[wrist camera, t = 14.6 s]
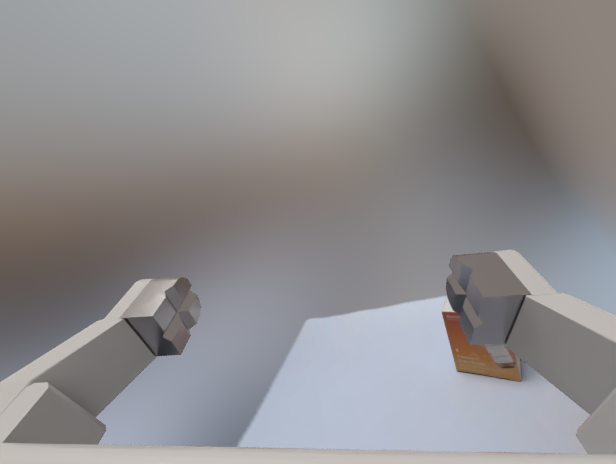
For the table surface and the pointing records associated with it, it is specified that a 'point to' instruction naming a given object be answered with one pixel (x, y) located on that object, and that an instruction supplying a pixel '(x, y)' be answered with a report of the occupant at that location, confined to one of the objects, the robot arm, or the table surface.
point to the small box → (479, 352)
